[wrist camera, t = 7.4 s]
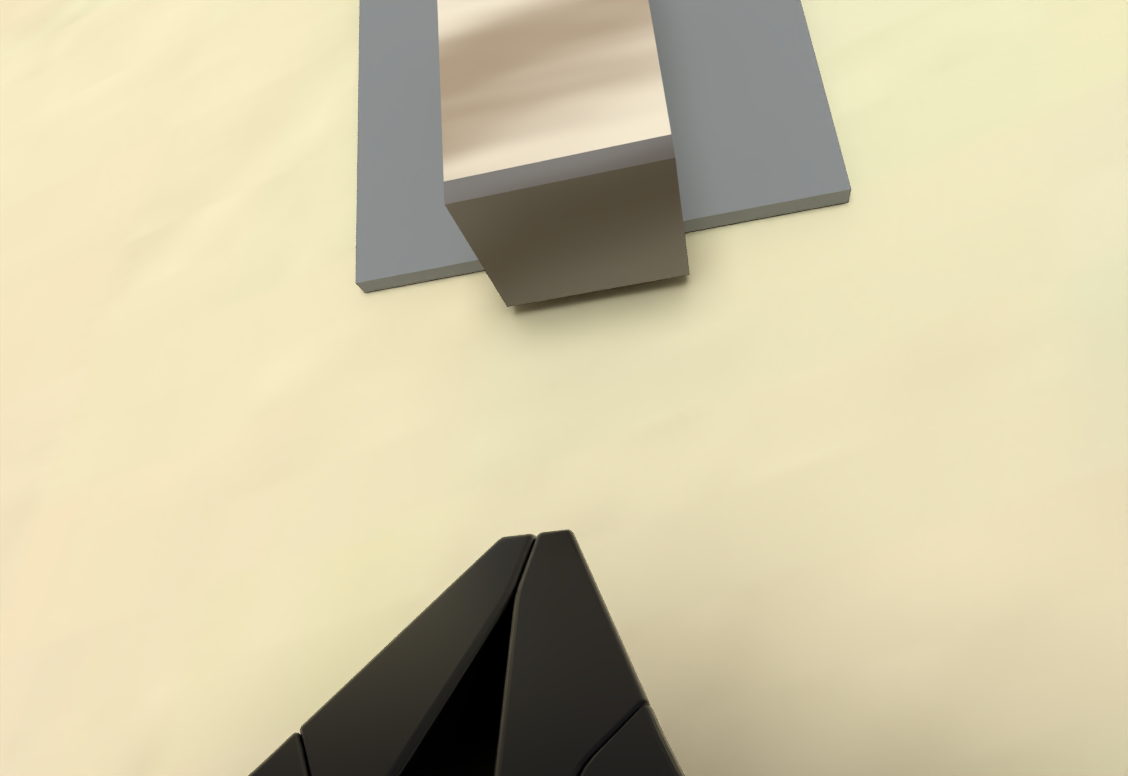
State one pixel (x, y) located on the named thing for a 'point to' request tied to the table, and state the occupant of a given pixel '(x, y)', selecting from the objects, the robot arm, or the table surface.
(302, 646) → the table surface
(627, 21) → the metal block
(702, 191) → the mat
